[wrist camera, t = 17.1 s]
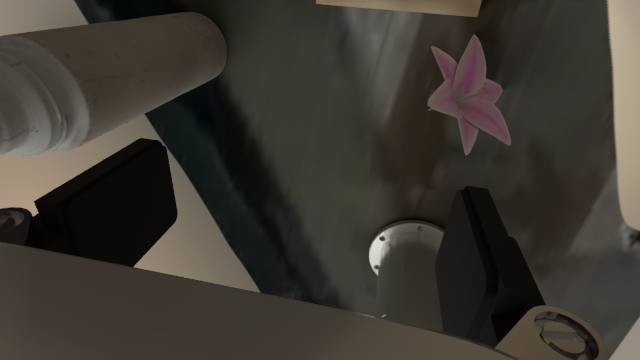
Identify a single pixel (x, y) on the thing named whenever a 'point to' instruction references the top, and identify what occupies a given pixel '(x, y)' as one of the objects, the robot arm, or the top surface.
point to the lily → (469, 95)
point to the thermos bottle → (99, 77)
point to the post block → (415, 5)
